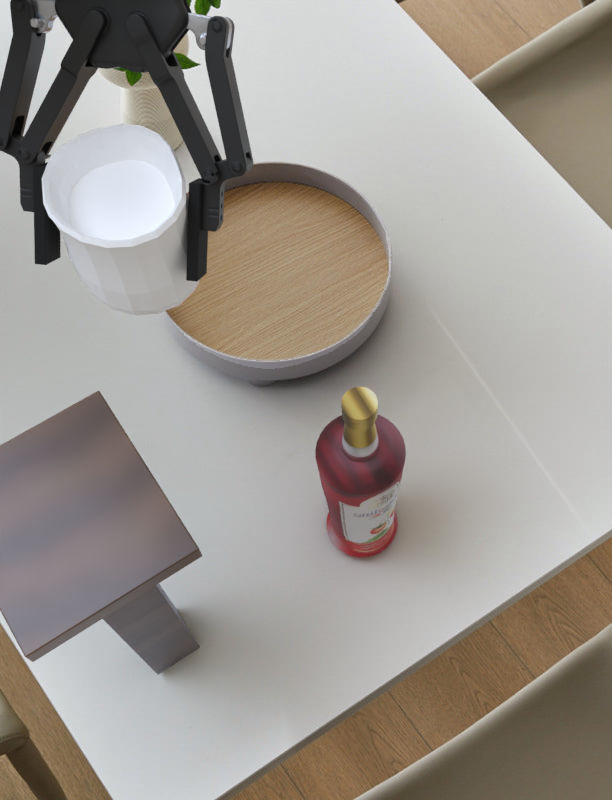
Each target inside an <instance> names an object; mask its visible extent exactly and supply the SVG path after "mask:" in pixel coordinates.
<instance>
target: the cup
mask: <svg viewBox="0 0 612 800" xmlns="http://www.w3.org/2000/svg"><path fill="white" fill-rule="evenodd" d="M47 162H48V163H47ZM47 162H46V163H47V165H46V168H45V171H44V174H43V176H42V192H43V204H44V206H45V209H46V211H47V213H48V216H49V217H50V218H51V219H52V220H53V222H54V223H55V224H56V226H57V227H58V229H59V230H60V234H61V235H62V238H63V241H64V245H65V247H66V252H67V253H68V255H69V259H70V261H71V263H72V266H73V268H74V269H75V272H76V274H77V276H78V278H79V280H80V282H81V283H82V284H83V285H84V287H85V288H86V289H87V290H88V292H90V294H91V295H92V296H94V298H95V299H97V301H100V302H102V304H104V305H106V306H107V307H109V308H110V309H112V310H113V311H117V312H121V313H125V314H129V315H134V316H146V315H157V314H161V313H163V312H166V311H168V310H171V309H173V308H177V307H179V306H181V305H182V304H183V303H184V302H185V301H186V300H187V299H188V298H189V297H190V296H191V295H192V294H193V293H194V292H195V291H196V289H197V287H198V285H199V284H200V282H201V279H200V280H198V281H197V282H196V281H187V280H186V271H187V236H188V201H189V195H188V194H187V181H186V179H185V175H184V171H183V168H182V166H181V164H180V161H179V158H178V156H177V154H176V152H175V150H174V147H173V146H172V145H171V144H170V142H168V140H166V139H165V137H164V136H163V135H161V134H160V133H159V132H156V131H154V130H152V129H150V128H148V127H146V126H143V125H140V124H131V123H119V124H112V125H108V126H103V127H98V128H95V129H91V130H90V131H86V132H84V133H81V134H78V135H76V136H75V137H73V138H71V139H70V140H69V141H67V142H65V143H63V144H62V145H60V146H59V148H58V149H57V150H56V152H55V153H53V155H51V157H50V158H49V160H48V161H47Z"/></svg>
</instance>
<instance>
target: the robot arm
mask: <svg viewBox="0 0 612 800" xmlns="http://www.w3.org/2000/svg"><path fill="white" fill-rule="evenodd" d="M9 8H10V17H11V26H12V27H11V28H12V37H11V41H10V44H9V45H10V46H9V49H8V53H7V58H6V62H5V67H4V71H3V76H2V80H1V85H0V152H2V153H5V154H6V155H9V156H11V157H12V158H14V159H15V161H17V163H18V168H19V197H20V198H19V203H20V206H21V208H22V211H23V212H28V213H33V235H34V236H33V237H34V238H33V239H34V240H33V241H34V242H33V244H34V245H33V247H34V265H41V266H47V265H49V264H51V263H53V262H55V261H56V260H59V259H61V253H62V252H61V232H60V230H59V229H58V227H57V226H56V224H55V223H54V222H53V220H52V219H51V218H50V217H49V216H48V213H47V211H46V209H45V206H44V204H43V192H42V176H43V174H44V171H45V168H46V165H47V163H48V162H49V161H47V162H46V160H47V159H50V158H51V157H52V154H50V152H51V151H52V149H53V147H54V145H55V143H56V141H57V140H58V138H59V136H60V134H61V132H62V131H63V128H64V127H65V125H66V123H67V122H68V119H69V117H70V116H71V114H72V112H73V110H74V108H75V107H76V105H77V103H78V101H79V100H80V98H81V95H82V94H83V92H84V90H85V88H86V87H87V85H88V83H89V82H90V80H91V78H92V77H94V75H95V74H96V72H97V71H98V69H105V70H109V69H120V68H122V69H124V70H127V71H129V72H134V73H143V74H144V73H148V74H149V76H150V78H151V81H152V82H153V84H154V85H155V86H156V87H157V89H158V90H159V92H160V94H161V96H162V99H163V101H164V103H165V105H166V107H167V109H168V112H169V114H170V116H171V117H172V120H173V121H174V124H175V126H176V128H177V130H178V132H179V134H180V136H181V139H182V141H183V143H184V144H185V146H186V148H187V151H188V153H189V155H190V157H191V159H192V161H193V163H194V165H195V168H196V170H197V172H198V174H199V176H200V177H199V178H196V179H194V180H192V181H190V182H189V183H188V199H189V201H188V236H187V271H186V280H187V281H196V282H197V281H198V280H200V281H201V279H202V278H203V277H204V276H205V275H207V274H208V273H207V271H208V246H209V245H208V244H209V232H217V231H218V230H220V229H221V227H222V225H223V223H224V211H225V210H224V209H225V189H226V188H225V186H226V183H227V181H228V180H229V179H233V178H238V177H242V176H244V175H246V174H248V173H249V172H251V170H253V168H254V158H253V153H252V148H251V144H250V143H251V142H250V139H249V134H248V129H247V125H246V124H247V123H246V120H245V114H244V110H243V105H242V99H241V95H240V91H239V86H238V81H237V76H236V71H235V66H234V63H233V62H234V61H233V57H232V53H233V45H234V36H235V23H234V21H233V20H232V19H231V18H230V17H228V16H221V15H214V16H210V15H204V14H199V13H194V12H192V10H191V7H190V6H189V3H188V1H187V0H10V1H9ZM57 18H58V19H59V20H60V22H61V24H62V25H63V27H64V28H65V30H66V31H67V33H68V35H69V36H70V37H71V39H72V40H71V43H70V45H69V46H68V49H67V50H66V51H65V54H64V56H63V58H62V59H61V62H60V68H59V71H58V72H57V74H56V75H55V78H54V80H53V82H52V83H51V86H50V87H49V89H48V91H47V92H46V95H45V96H44V98H43V100H42V102H41V104H40V106H39V108H38V110H37V112H36V114H35V115H34V117H33V118H32V121H31V123H30V124H29V126H28V128H27V130H26V132H25V129H26V125H27V124H26V123H27V120H28V117H29V112H30V108H31V105H32V100H33V97H34V92H35V88H36V84H37V79H38V76H39V71H40V67H41V63H42V59H43V55H44V50H45V45H46V39H47V34H48V33H50V32H51V31H52V30H53V27H54V22H55V20H56V19H57ZM189 31H191V32H192V33H193V34H194V37H195V42H196V45H197V47H198V48H199V49H200V50H202V51H204V60H205V67H206V71H207V76H208V80H209V85H210V89H211V94H212V99H213V104H214V109H215V113H216V118H217V122H218V127H219V132H220V136H221V141H222V146H223V150H224V154H225V158H222V156H221V154H220V151H219V149H218V147H217V145H216V143H215V140H214V138H213V137H212V134H211V132H210V129H209V128H208V126H207V124H206V122H205V119H204V117H203V115H202V113H201V111H200V109H199V106H198V105H197V102H196V100H195V99H194V96H193V94H192V92H191V90H190V87H189V85H188V83H187V81H186V78H185V73H184V71H183V68H182V66H181V63H180V62H179V60H178V57H177V56H176V53H175V49H176V48H177V47H178V46H179V44H180V43H181V41H182V40H183V39H184V37H185V36H186V35H187V34H188V32H189ZM24 133H25V134H24Z"/></svg>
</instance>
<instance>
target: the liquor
mask: <svg viewBox="0 0 612 800" xmlns="http://www.w3.org/2000/svg"><path fill="white" fill-rule="evenodd" d="M340 403H341V404H340V405H341V407H340V408H341V415H339V416H336V417H335V418H334V419H332V420H331V421H330V422H328V423H327V424H326V426H324V428H323V429H322V430H321V432H320V434H319V436H318V438H317V440H316V444H315V451H314V453H315V454H314V455H315V456H314V457H315V462H316V467H317V469H318V475H319V479H320V483H321V488H322V492H323V495H324V497H325V501H326V505H327V509H328V512H327V516H326V521H325V522H326V523H325V524H326V525H325V527H326V531H327V535H328V537H329V539H330V541H331V542H332V544H333V546H334V547H336V548H337V549H338V550H339V551H340V552H341V553H344V554H345V555H348V556H351V557H354V558H368V557H373V556H374V557H375V556H377V555H378V554H381V553H382V552H383V551H385V550H386V549H387V548H388V547H389V546H390V545H391V544H392V542H393V541H394V539H395V538H396V535H397V533H398V526H399V518H398V515H397V511H396V505H397V500H398V496H399V491H400V488H401V485H402V479H403V472H404V467H405V463H406V456H407V453H406V452H407V451H406V443H405V439H404V437H403V435H402V434H401V431H400V430H399V428H397V426H396V425H395V423H393V422H392V421H391V420H389V419H388V418H386V417H384V415H383V416H382V415H381V414H378V413H379V401H378V397H377V395H376V393H375V392H374V391H373V390H371V389H370V388H368V387H366V386H365V387H364V386H355V387H352V388H349V389H348V390H346V392H345V393H344V394H343V396H342V398H341V401H340Z"/></svg>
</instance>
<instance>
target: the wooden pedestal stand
mask: <svg viewBox="0 0 612 800" xmlns="http://www.w3.org/2000/svg"><path fill="white" fill-rule="evenodd" d="M202 557H203V553H202V551H201V550H200V547H199V546H198V544H197V543H196V541H195V539H194V538H193V536H192V535H191V533H190V531H189V530H188V528H187V527H186V525H185V523H184V522H183V521H182V519H181V518H180V516H179V514H178V513H177V511H176V510H175V508H174V505H172V503H171V502H170V500H169V498H168V497H167V495H166V494H165V492H164V491H163V489H162V487H161V486H160V484H159V483H158V481H157V479H156V478H155V476H154V475H153V473H152V472H151V470H150V468H149V467H148V465H147V464H146V462H145V461H144V459H143V457H142V455H141V454H140V453H139V451H138V449H137V448H136V446H135V445H134V443H133V441H132V440H131V438H130V437H129V435H128V433H127V432H126V430H125V429H124V427H123V426H122V424H121V422H120V421H119V419H118V418H117V417H116V414H115V413H114V411H113V410H112V408H111V407H110V405H109V404H108V402H107V401H106V399H105V398H104V396H103V394H102V393H101V391H100V390H97V391H95V392H93V393H91V394H89V395H88V396H86V397H83V398H82V399H80V400H79V401H77V402H75V403H74V404H71V405H70V406H68V407H67V408H65V409H63V410H61V411H59V412H57V413H55V414H54V415H52V416H50V417H49V418H46V419H45V420H43V421H41V422H39V423H38V424H36V425H33V426H32V427H31V428H29V429H27V430H25V431H23V432H22V433H20V434H18V435H17V436H16V435H15V437H13V438H10V439H9V440H8V441H6V442H4V443H2V444H0V613H1V615H2V616H3V618H4V620H5V622H6V624H7V626H8V628H9V630H10V631H11V634H12V635H13V637H14V639H15V640H16V643H17V645H18V646H19V648H20V650H21V652H22V655H23V656H24V657H25V658H26V659H27V660H29V661H30V662H32V663H34V662H36V661H38V660H39V659H40V658H42V657H44V656H45V655H47V654H49V653H50V652H52V651H53V650H55V649H56V648H58V647H60V646H61V645H63V644H65V643H66V642H68V641H69V640H71V639H73V638H74V637H75V636H78V635H79V634H81V633H83V632H84V631H85V630H87V629H88V628H90V627H91V626H94V625H95V624H96V623H98V622H100V621H101V620H102V621H104V622H105V623H106V624H107V625H108V626H109V627H110V628H111V629H112V631H114V632H115V633H116V634H117V635H118V636H119V637H120V639H122V640H123V641H124V642H125V643H126V644H127V645H128V647H130V648H131V649H132V650H133V651H134V652H135V654H137V656H138V657H140V658H141V659H142V660H143V662H145V664H147V665H148V666H149V668H151V669H152V670H153V671H154V672H155V674H156V675H160V674H162V673H163V672H164V671H166V670H168V669H169V668H171V667H172V666H174V665H175V664H177V663H178V662H180V661H182V660H183V659H184V658H186V657H187V656H189V655H191V654H192V653H194V652H195V651H197V650H198V649H200V645H199V643H198V642H197V640H196V639H195V637H194V635H193V634H192V632H191V630H190V629H189V627H188V625H187V623H186V621H184V618H183V617H182V615H181V614H180V612H179V610H178V608H177V607H176V605H175V604H174V603H173V602H172V600H171V598H169V596H168V594H167V593H166V592H165V590H164V588H163V587H162V585H161V583H162V582H163V581H165V580H167V579H168V578H170V577H171V576H173V575H175V574H176V573H177V572H180V571H181V570H183V569H184V568H186V567H188V566H189V565H191V564H192V563H194V562H195V561H197V560H198V559H201V558H202Z"/></svg>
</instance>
